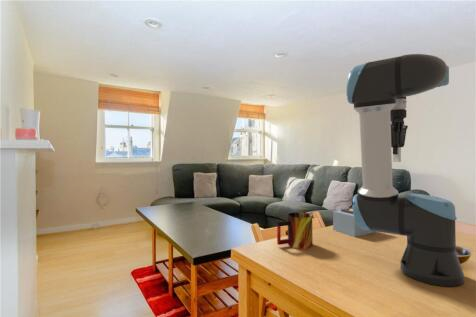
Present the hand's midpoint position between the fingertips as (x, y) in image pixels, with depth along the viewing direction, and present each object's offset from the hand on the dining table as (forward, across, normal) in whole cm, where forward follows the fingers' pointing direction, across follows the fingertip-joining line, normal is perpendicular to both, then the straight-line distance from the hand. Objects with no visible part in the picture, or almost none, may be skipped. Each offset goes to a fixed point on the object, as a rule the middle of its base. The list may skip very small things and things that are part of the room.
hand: (396, 161), depth 118 cm
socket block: (+32, -15, +11) cm, 37 cm away
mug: (+33, -51, +8) cm, 61 cm away
